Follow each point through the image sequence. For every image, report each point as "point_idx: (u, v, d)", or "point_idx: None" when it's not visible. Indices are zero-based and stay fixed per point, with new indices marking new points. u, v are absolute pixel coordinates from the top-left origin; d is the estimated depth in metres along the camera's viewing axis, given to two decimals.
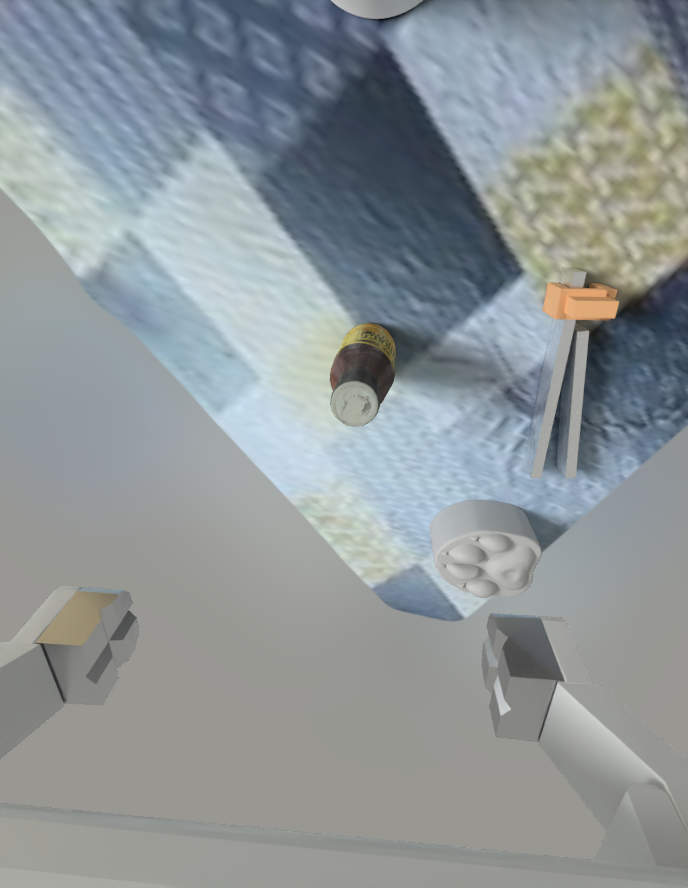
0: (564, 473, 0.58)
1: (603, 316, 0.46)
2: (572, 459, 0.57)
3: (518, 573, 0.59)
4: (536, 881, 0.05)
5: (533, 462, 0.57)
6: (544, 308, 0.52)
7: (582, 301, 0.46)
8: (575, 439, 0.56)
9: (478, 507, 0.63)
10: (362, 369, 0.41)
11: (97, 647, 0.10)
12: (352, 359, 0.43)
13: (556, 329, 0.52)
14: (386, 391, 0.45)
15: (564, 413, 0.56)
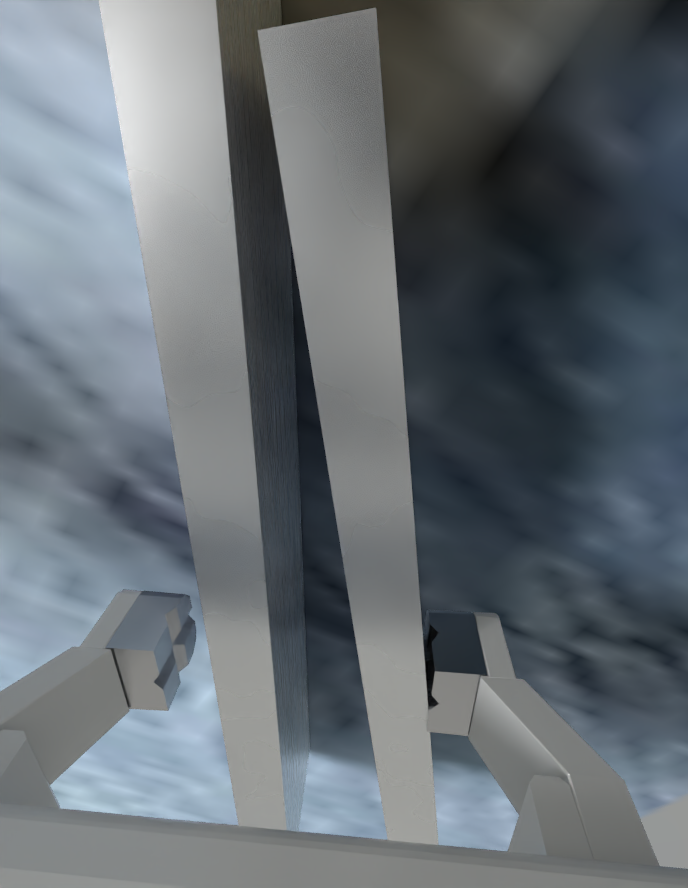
0: None
1: None
2: (414, 840, 0.11)
3: None
4: (536, 881, 0.05)
5: None
6: None
7: None
8: (412, 775, 0.10)
9: None
10: None
11: (164, 652, 0.09)
12: None
13: None
14: None
15: None
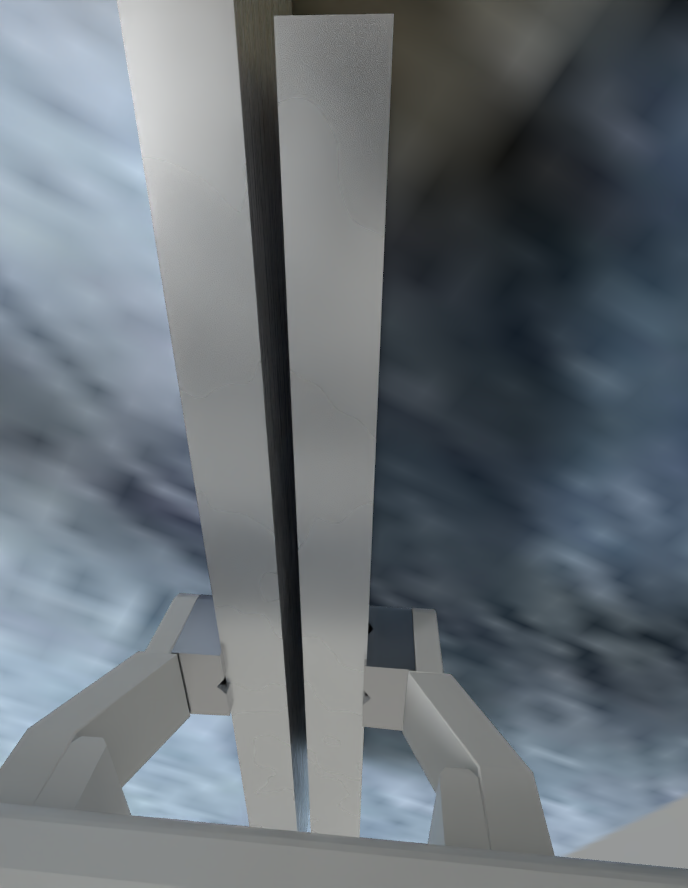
0: None
1: None
2: (336, 832, 0.12)
3: None
4: (536, 879, 0.05)
5: None
6: None
7: None
8: (341, 768, 0.10)
9: None
10: None
11: None
12: None
13: None
14: None
15: None
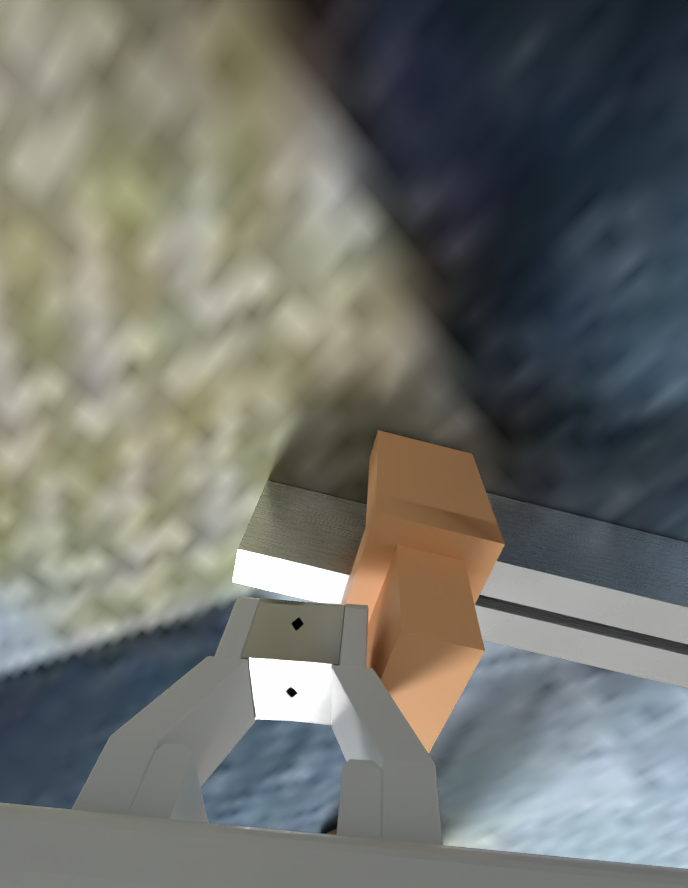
0: None
1: (456, 686, 0.09)
2: None
3: None
4: (536, 880, 0.05)
5: None
6: None
7: None
8: None
9: None
10: None
11: None
12: None
13: None
14: None
15: None
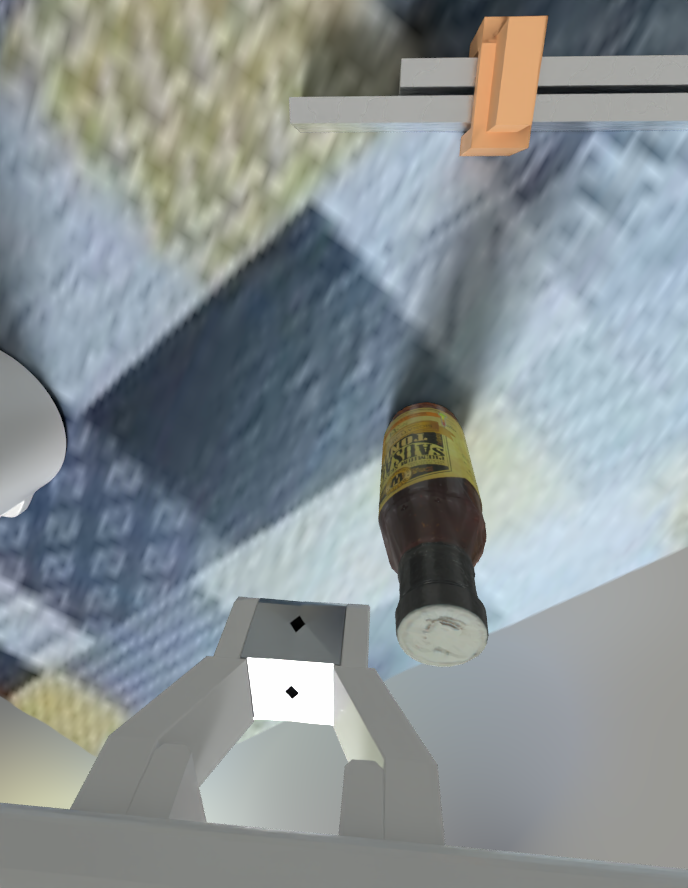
0: None
1: (537, 47, 0.21)
2: None
3: None
4: (537, 881, 0.05)
5: None
6: (505, 155, 0.29)
7: (499, 109, 0.22)
8: (653, 66, 0.24)
9: None
10: (399, 569, 0.24)
11: None
12: (393, 558, 0.26)
13: (400, 127, 0.28)
14: (458, 499, 0.26)
15: (583, 93, 0.26)
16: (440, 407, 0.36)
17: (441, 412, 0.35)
